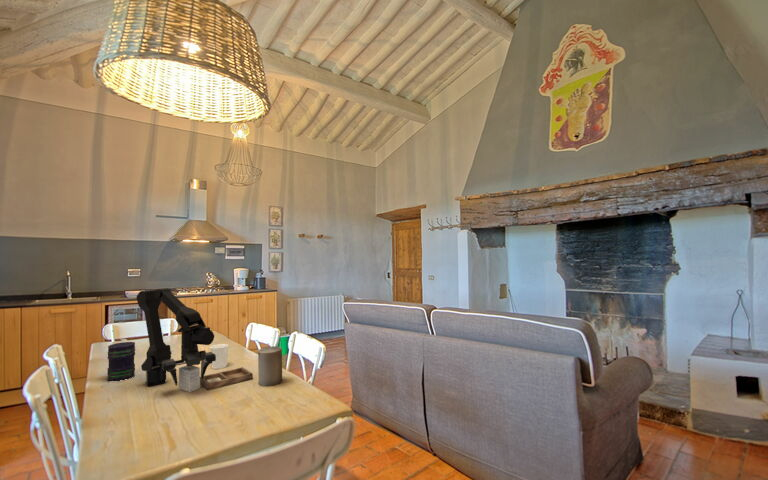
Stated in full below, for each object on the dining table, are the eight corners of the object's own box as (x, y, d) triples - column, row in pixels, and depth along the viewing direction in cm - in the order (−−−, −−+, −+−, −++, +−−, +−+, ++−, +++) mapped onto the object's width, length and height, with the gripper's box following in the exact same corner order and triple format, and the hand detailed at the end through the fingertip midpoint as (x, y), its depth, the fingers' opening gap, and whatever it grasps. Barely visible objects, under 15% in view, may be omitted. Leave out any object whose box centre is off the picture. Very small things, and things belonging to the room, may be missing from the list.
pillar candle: (285, 378, 152) (285, 343, 153) (276, 386, 142) (276, 349, 143) (264, 377, 153) (264, 343, 154) (253, 386, 143) (253, 349, 144)
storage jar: (111, 384, 149) (111, 348, 150) (104, 379, 155) (104, 345, 156) (138, 377, 157) (138, 343, 158) (130, 373, 163) (131, 340, 164)
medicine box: (200, 389, 142) (200, 367, 142) (189, 392, 138) (189, 370, 138) (189, 385, 146) (189, 364, 146) (178, 389, 142) (178, 367, 142)
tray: (207, 390, 140) (207, 384, 140) (199, 382, 149) (199, 376, 149) (252, 379, 152) (252, 373, 152) (242, 372, 161) (242, 367, 161)
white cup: (223, 369, 166) (223, 348, 167) (207, 369, 166) (207, 348, 167) (231, 364, 174) (231, 343, 174) (215, 364, 174) (215, 344, 175)
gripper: (166, 351, 130) (166, 394, 130) (220, 342, 143) (219, 381, 142) (161, 346, 139) (160, 386, 138) (211, 338, 151) (211, 375, 150)
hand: (189, 382), depth 142 cm, fingers open, 9 cm apart
